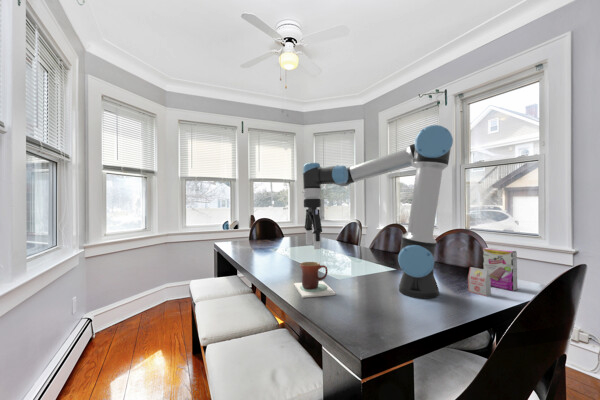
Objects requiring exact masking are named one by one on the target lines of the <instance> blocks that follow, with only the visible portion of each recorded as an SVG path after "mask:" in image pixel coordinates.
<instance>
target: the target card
mask: <svg viewBox="0 0 600 400" xmlns="http://www.w3.org/2000/svg"><path fill="white" fill-rule="evenodd" d="M293 285H294V288H295V289H296V290H297V291H298V293H299V295H300V296H301V298H304V299H306V298H315V297H324V296H326V297H328V296H336V295H337V292H336V291H334V290H333V288H331V287H330V286H329V285H328V284H327V283H326V282H325V281H324V280H319V285H318V287H317V288H316V289H305V288H303V287H302V282H294V283H293Z"/></svg>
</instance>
